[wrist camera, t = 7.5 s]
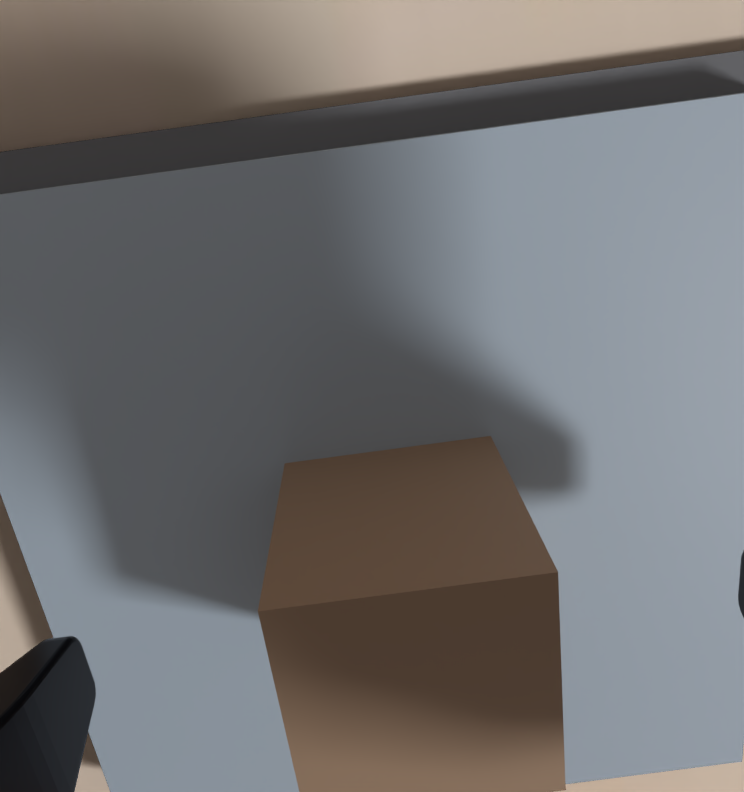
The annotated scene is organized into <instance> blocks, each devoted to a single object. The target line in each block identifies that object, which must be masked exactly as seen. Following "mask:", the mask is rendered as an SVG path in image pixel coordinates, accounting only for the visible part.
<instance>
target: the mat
mask: <svg viewBox="0 0 744 792" xmlns="http://www.w3.org/2000/svg"><path fill="white" fill-rule="evenodd" d="M737 93H744V50H743V51H736V52H728V53H721V54H714V55H706V56H699V57H692V58H684V59H677V60H670V61H662V62H655V63H648V64H640V65H633V66H626V67H619V68H611V69H604V70H597V71H589V72H582V73H575V74H567V75H560V76H553V77H545V78H538V79H531V80H523V81H516V82H509V83H502V84H494V85H487V86H480V87H472V88H465V89H458V90H450V91H443V92H436V93H428V94H421V95H414V96H406V97H399V98H392V99H384V100H377V101H370V102H363V103H355V104H348V105H341V106H333V107H326V108H319V109H311V110H304V111H297V112H289V113H282V114H275V115H267V116H260V117H253V118H246V119H238V120H231V121H224V122H216V123H209V124H202V125H194V126H187V127H180V128H172V129H165V130H158V131H150V132H143V133H136V134H129V135H121V136H114V137H107V138H99V139H92V140H85V141H77V142H70V143H63V144H55V145H48V146H41V147H33V148H26V149H19V150H12V151H4V152H0V194H6V193H13V192H20V191H27V190H35V189H42V188H49V187H57V186H64V185H71V184H79V183H86V182H93V181H101V180H108V179H115V178H123V177H130V176H137V175H144V174H152V173H159V172H166V171H174V170H181V169H188V168H196V167H203V166H210V165H218V164H225V163H232V162H239V161H247V160H254V159H261V158H269V157H276V156H283V155H291V154H298V153H305V152H313V151H320V150H327V149H334V148H342V147H349V146H356V145H364V144H371V143H378V142H386V141H393V140H400V139H408V138H415V137H422V136H430V135H437V134H444V133H451V132H459V131H466V130H473V129H481V128H488V127H495V126H503V125H510V124H517V123H525V122H532V121H539V120H546V119H554V118H561V117H568V116H576V115H583V114H590V113H598V112H605V111H612V110H620V109H627V108H634V107H641V106H649V105H656V104H663V103H671V102H678V101H685V100H693V99H700V98H707V97H715V96H722V95H729V94H737Z"/></svg>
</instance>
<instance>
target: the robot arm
mask: <svg viewBox="0 0 744 792" xmlns="http://www.w3.org/2000/svg"><path fill="white" fill-rule="evenodd" d="M738 603H739V607H740V611H741V613H742V616H743V618H744V551H743V553H742V556H741V564H740V577H739V589H738ZM95 698H96V687H95V682H94V678H93V676H92V673H91V670H90V667H89V664H88V661H87V659H86V656H85V653H84V650H83V647H82V645H81V643H80V641H79V640H78V639H77V638H76V637H74V636H66V637H59V638H51V639H46V640H44V641H42V642H40V643H39V644H38V645H36V646H35V647H34V648H33V649H31V650H30V651H29V652H27V653H26V654H25V655H23V656H22V657H21V658H19V659H18V660H17V661H15V662H14V663H13V664H12V665H10V666H9V667H8V668H6V669H5V670H4V671H2V672H1V673H0V792H74V791H75V786H76V782H77V778H78V773H79V769H80V765H81V760H82V756H83V752H84V747H85V743H86V739H87V734H88V730H89V726H90V721H91V717H92V713H93V708H94V704H95Z"/></svg>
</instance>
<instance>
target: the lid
mask: <svg viewBox="0 0 744 792" xmlns="http://www.w3.org/2000/svg"><path fill="white" fill-rule="evenodd" d="M0 494H1V497H2V500H3V502H4V505H5V508H6V510H7V513H8V516H9V519H10V521H11V524H12V527H13V529H14V532H15V535H16V538H17V540H18V543H19V546H20V548H21V551H22V554H23V556H24V559H25V562H26V565H27V567H28V570H29V573H30V575H31V578H32V581H33V584H34V586H35V589H36V592H37V594H38V597H39V600H40V603H41V605H42V608H43V611H44V613H45V616H46V619H47V621H48V624H49V627H50V630H51V632H52V635H53V638H59V637H66V636H74V637H76V638H77V639H78V640H79V641H80V643H81V645H82V647H83V650H84V653H85V656H86V659H87V661H88V664H89V667H90V670H91V673H92V676H93V678H94V682H95V687H96V698H95V704H94V708H93V713H92V717H91V721H90V726H89V730H88V732H89V735H90V738H91V741H92V743H93V746H94V749H95V751H96V754H97V757H98V760H99V762H100V765H101V768H102V770H103V773H104V776H105V778H106V781H107V784H108V787H109V789H110V792H553V791H561V790H566V786H565V784H571V783H578V782H586V781H594V780H602V779H610V778H617V777H625V776H633V775H641V774H649V773H656V772H664V771H672V770H680V769H687V768H695V767H703V766H711V765H719V764H726V763H734V762H742V755H743V744H744V618H743V616H742V613H741V611H740V607H739V603H738V589H739V577H740V564H741V556H742V553H743V551H744V93H737V94H729V95H722V96H715V97H707V98H700V99H693V100H685V101H678V102H671V103H663V104H656V105H649V106H641V107H634V108H627V109H620V110H612V111H605V112H598V113H590V114H583V115H576V116H568V117H561V118H554V119H546V120H539V121H532V122H525V123H517V124H510V125H503V126H495V127H488V128H481V129H473V130H466V131H459V132H451V133H444V134H437V135H430V136H422V137H415V138H408V139H400V140H393V141H386V142H378V143H371V144H364V145H356V146H349V147H342V148H334V149H327V150H320V151H313V152H305V153H298V154H291V155H283V156H276V157H269V158H261V159H254V160H247V161H239V162H232V163H225V164H218V165H210V166H203V167H196V168H188V169H181V170H174V171H166V172H159V173H152V174H144V175H137V176H130V177H123V178H115V179H108V180H101V181H93V182H86V183H79V184H71V185H64V186H57V187H49V188H42V189H35V190H27V191H20V192H13V193H6V194H0Z"/></svg>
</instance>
